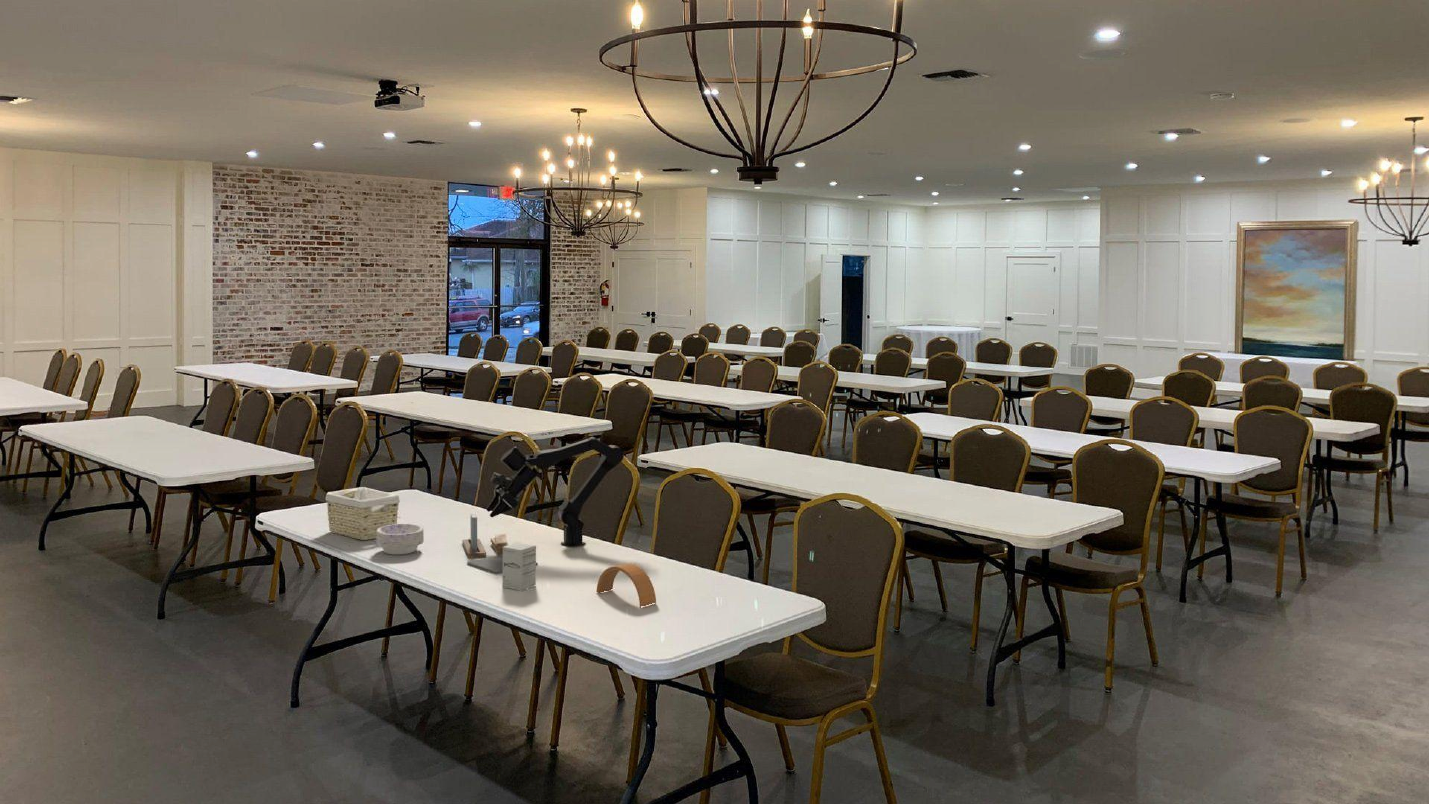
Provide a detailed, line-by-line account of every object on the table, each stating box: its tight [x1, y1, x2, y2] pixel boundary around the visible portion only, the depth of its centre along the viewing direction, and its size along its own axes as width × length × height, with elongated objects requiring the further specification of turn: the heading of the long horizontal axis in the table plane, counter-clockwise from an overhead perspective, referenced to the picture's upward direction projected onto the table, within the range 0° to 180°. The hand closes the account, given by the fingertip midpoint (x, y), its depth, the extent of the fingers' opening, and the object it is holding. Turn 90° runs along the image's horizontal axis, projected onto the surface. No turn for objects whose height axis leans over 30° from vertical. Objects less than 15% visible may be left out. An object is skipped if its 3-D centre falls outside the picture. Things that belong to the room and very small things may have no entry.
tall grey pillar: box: [470, 513, 478, 553], centre depth 366 cm, size 2×6×12 cm, turn 18°
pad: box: [466, 554, 539, 575], centre depth 349 cm, size 16×16×1 cm
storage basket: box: [325, 486, 401, 541], centre depth 387 cm, size 24×16×15 cm
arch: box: [596, 563, 657, 607], centre depth 314 cm, size 6×20×10 cm, turn 45°
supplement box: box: [501, 542, 537, 592], centre depth 324 cm, size 7×7×13 cm
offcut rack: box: [461, 534, 509, 559], centre depth 368 cm, size 14×20×3 cm
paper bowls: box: [375, 523, 425, 556], centre depth 363 cm, size 15×15×8 cm
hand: (488, 513), depth 367 cm, fingers open, 9 cm apart
